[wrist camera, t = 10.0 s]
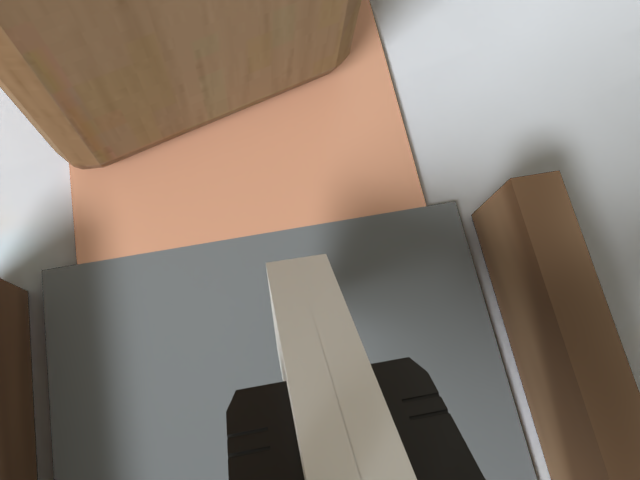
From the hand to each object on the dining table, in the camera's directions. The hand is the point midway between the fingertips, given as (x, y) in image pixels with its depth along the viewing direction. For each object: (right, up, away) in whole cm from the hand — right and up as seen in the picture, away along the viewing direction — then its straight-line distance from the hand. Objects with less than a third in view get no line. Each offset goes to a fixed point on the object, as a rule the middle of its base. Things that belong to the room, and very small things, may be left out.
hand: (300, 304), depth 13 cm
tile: (-3, +7, +5) cm, 9 cm away
